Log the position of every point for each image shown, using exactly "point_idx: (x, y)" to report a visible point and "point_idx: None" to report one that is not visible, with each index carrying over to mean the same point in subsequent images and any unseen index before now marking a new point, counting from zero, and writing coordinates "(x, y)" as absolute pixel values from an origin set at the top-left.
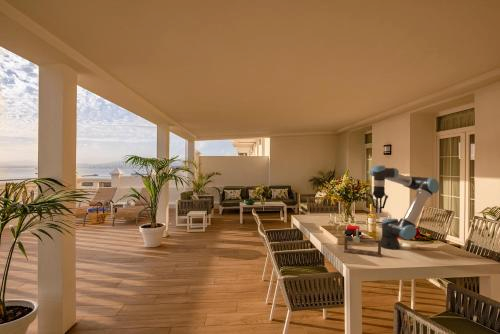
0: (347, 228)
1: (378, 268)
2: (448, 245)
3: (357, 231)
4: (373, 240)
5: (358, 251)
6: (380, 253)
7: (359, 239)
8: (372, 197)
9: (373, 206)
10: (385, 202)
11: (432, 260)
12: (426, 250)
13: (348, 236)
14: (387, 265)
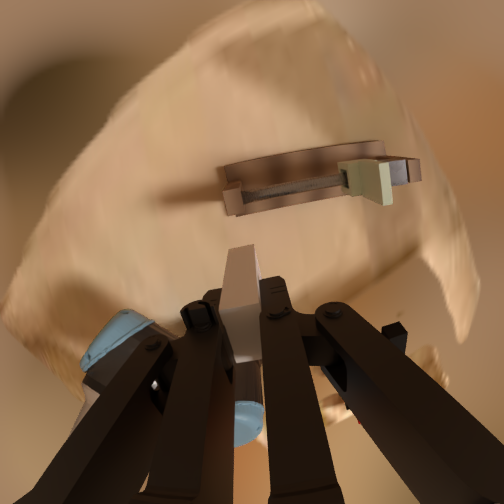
0: None
1: (205, 25)
2: None
3: (377, 162)
4: (269, 191)
5: (327, 160)
6: (229, 182)
7: (345, 163)
8: (482, 485)
9: (350, 312)
10: (80, 426)
11: (70, 255)
12: None
13: (405, 175)
14: (180, 76)
